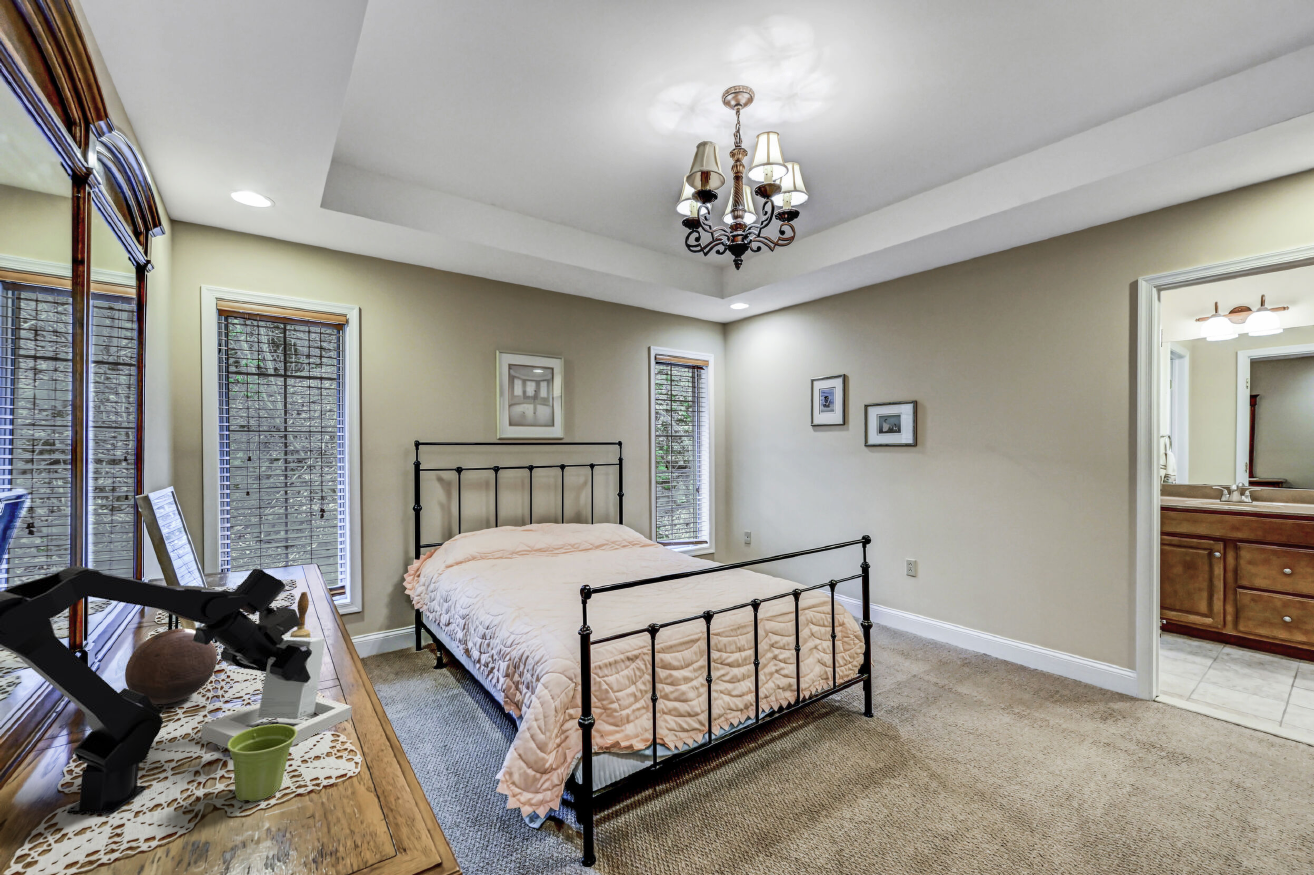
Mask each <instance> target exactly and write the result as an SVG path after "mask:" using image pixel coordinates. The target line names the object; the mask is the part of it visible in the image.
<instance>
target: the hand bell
mask: <svg viewBox="0 0 1314 875" xmlns="http://www.w3.org/2000/svg"><path fill="white" fill-rule="evenodd" d="M309 603H310V601H309V597H308V592H307V591H302V592H301V593H300V595H299V598H298V601H297V605H296V606H297V615H298V617H299V620H300V622H301V623H300V625H299V626H297V627H296V629H295V630H293V631H291V633H290V636H289V637H296V638H312V637H311V631H310V630H309V629H306V628H305V627H306V626H305V625H306V614H307V612H308V610H309Z"/></svg>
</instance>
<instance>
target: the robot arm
mask: <svg viewBox="0 0 1314 875" xmlns="http://www.w3.org/2000/svg"><path fill="white" fill-rule="evenodd" d="M286 587H287V586H286V584H285V583H284V582H283V581H282V580H281V579H279V578H277V577H275V576H273V575H271V574H269V573H267V572H265V571H264V570H263V569H260V568H253V570H252V571H250V573H249V574H248V575H247V577H246V578H245V579H244V580H243V581H242V582H241V583H240V585H238V586H237V587H236V588H235V589H234V590H233V591H231V590H225V589H223V590H219V589H215V588H214V589H213V588H209V587H206V586H201V585H163V584H158V583H153V582H149V581H144V580H139V579H135V578H129V577H124V576H119V575H116V574H111V573H110V574H109V573H106V572H102V571H99V570H98V569H94V568H90V567H86V566H79V565H74V566H69V567H67V568H63V569H62V570H60V571H57V572H55V573H52V574H49V575H46V576H43V577H42V576H41V577H38V578H35V579H32V580H28V581H26V582H21V583H19V584H16V585H13V586H11V587H8V588H6V589H4V590H0V649H2V650H5V651H7V652H9V653H11V654H13V655H15V656H16V657H18V659H20V660H21V661H22V662H24V663H25V664H26V665H27V666H28V667H29V668H31V670H32V671H34V672H35V673H36V674H38V675H39V676H40V677H41V678H43V680H45V681H46V682H47V683H49V684H50V685H51V687H53V688H55V689H56V690H57V691H58V692H59V693H61V695H63V696H64V697H65V698H66V699H68V700H69V701H70V702H72V703H73V704H74V705H76V707H77V708H79V709H80V710H81V711H82V712H83V713H84V715H85V719H86V722H87V725H88V727H89V728H90V729H91V731H90V732H89V733H88V734H87V735H86V736H85V737H84V738H83V740H82V741H80V742H79V743H78V744H77V746H76V747H74V748H73V750H72V751H73V753H74V756H75V758H76V760H77V761H78V762H83V763H84V764H86V765H85V768H84V769H83V770H82V771H81V781H80V782H81V783H80V793H79V794H80V795H79V801H78V802H76V803H75V804H74V805H71V807H69V808H68V809H67V813H68V814H102V815H103V814H105V815H109V814H113V813H114V812H116V811H118V810H119V809H121V808H122V807H123V806H125V805H126V804H128V803H129V802H130V801H132V800H133V799H135V798H136V797H138V796H139V795H140V794H142V793H143V792H145V791H146V790H147V786H146V785H138V778H139V766H140V763H142V762H144V761H146V759H147V757H148V755H149V752H150V750H151V748H152V746H153V743H154V741H155V739H156V738H157V737H158V735H159V733H160V732H161V729H162V725H163V724H164V720H163V717H162V716H161V715H160V713H162V712H163V709H162V708H159V707H156V706H155V705H154V704H153V703H151V701H150V699H149V698H148V697H147V696H146V695H143V694H141V693H138V692H135V691H132V690H129V689H128V688H126V687H124V688H122V689H121V691H120V692H118V691H117V690H115V689H114V688H113V687H112V686H111V685H110V684H109V683H108V682H106V681H105V680H104V678H102V677H101V676H100V674H98V673H97V672H96V671H95V670H93V669H92V668H91V667H90V666H89V665H88V664H86V662H84V661H83V660H82V659H81V658H80V657H79V656H78V655H76V653H74V651H72V650H71V649H70V648H69V647H68V646H66V645H65V644H64V643H63V641H61V640H60V639H59V638H58V637H57V635H56V632H55V630H54V627H53V626H54V625H53V623H52V620H50V619H53V618H54V617H57V616H58V615H60V614H62V613H63V612H65V611H67V609H69V608H70V607H71V606H74V605H75V604H76V603H78V602H79V601H80V600H83V599H85V598H88V597H89V598H96V599H101V600H107V601H112V602H117V603H118V602H119V603H123V604H124V603H125V604H130V605H136V606H140V607H147V608H152V609H157V610H160V611H162V612H164V613H166V614H169V615H172V616H174V617H178V618H179V619H183V620H187V621H191V622H195V623H199V624H203V625H202V626H197V627H195V629H194V630H195V631H196V633H195V635H194V639H193V641H194V642H197V643H200V644H204V645H208V644H209V643H210V642H211V641H212V642H213V640H215V641H216V642H218V643H219V644H220V645H222V646H223V647H224V648H223V650H221V651H220V660H222V661H224V662H225V663H226V664H228V665H232V666H235V667H238V668H241V669H246V670H250V671H251V670H253V671H257V672H262V673H266V669H267V664H268V659H271V660H274V662H273V663H272V664H271V665H270V674H271V675H273V676H275V677H276V678H277V679H281V680H284V681H294V682H303V683H307V682H308V681H309V680H310V678H311V677H310V675H309V672H308V670H307V668H306V665H305V662H306V661H307V660H308V658H309V657H310V656H311V654H312V650H310V649H309V648H308V647H307V646H305V645H301V644H297V643H292V644H288V645H287V646H286V647H285V649H284V648H280V647H277V645H280V644H281V643H282V641H283V640H284V638H285V637H283V636H285V635H286V634H287V633H289V632H290V631H292V630H293V629H294V628H297V626H299V625H300V623H301V622H300V620H299V614H298V611H296V609H294V608H290V607H286V606H283V607H278V606H277V607H276V608H273V607H270V606H271V605H272V604H273V602H274V601H275V600H276V599H277V598H278V597H279V596H280V595H281V594H282V592H284V590H285V589H286ZM256 613H259V614H258V623H256V622H255V621H254V620H253V619H252V618H251V617H250V616H248V615H252V616H255V614H256ZM247 614H248V615H247Z"/></svg>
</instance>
